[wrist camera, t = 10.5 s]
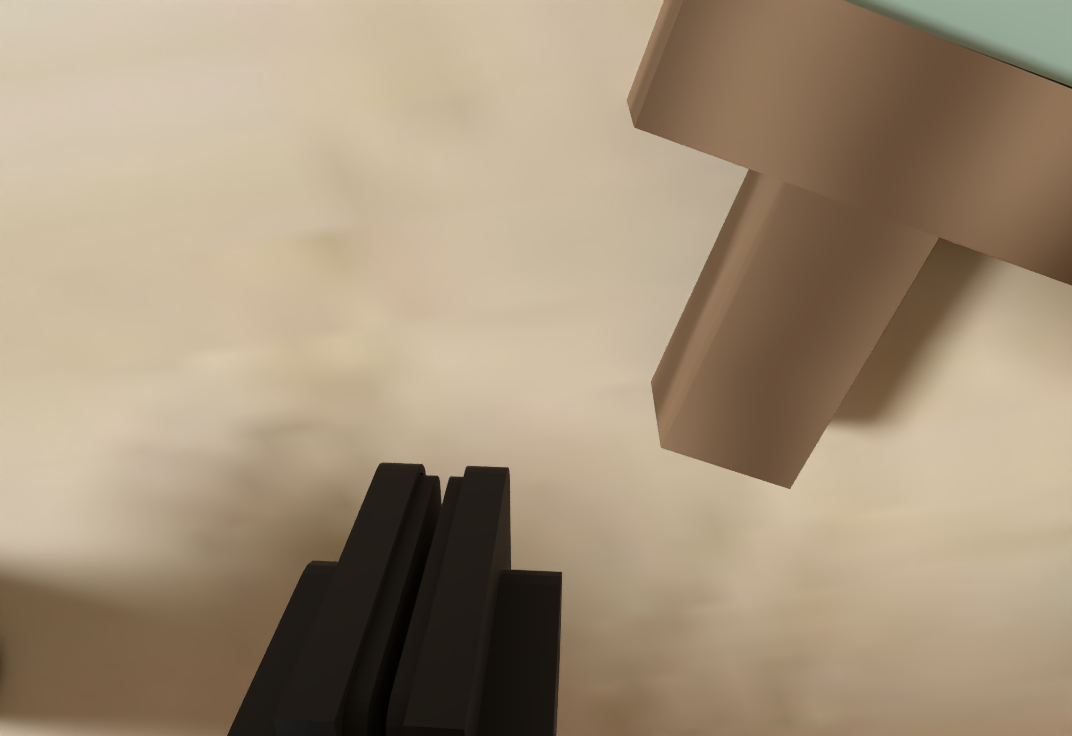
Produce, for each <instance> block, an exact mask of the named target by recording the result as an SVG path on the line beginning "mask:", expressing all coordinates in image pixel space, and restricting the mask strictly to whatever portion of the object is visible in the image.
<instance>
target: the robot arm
mask: <svg viewBox="0 0 1072 736" xmlns="http://www.w3.org/2000/svg"><path fill="white" fill-rule="evenodd" d="M561 597H562V572H549V571H527V570H511V536H510V474H509V468H506V467H481V466H467V467H466V470H465V473H464V477H453V476H451V477H450V478H449V481H448V484H447V488H446V492H445V496H444V499H443V503H442V507H441V490H440V480H439V477H438V476H428V475H426V473H425V468H424V466H423V465H422V464H404V463H380V464H379V466H378V468H377V470H376V472H375V475H374V477H373V480H372V482H371V484H370V487H369V489H368V492H367V494H366V496H365V499H364V501H363V504H362V506H361V509H360V511H359V513H358V516H357V518H356V521H355V523H354V525H353V528H352V530H351V533H350V535H349V538H348V540H347V542H346V545H345V547H344V550H343V552H342V554H341V557H340V559H339V562H329V561H312V562H310V563H309V564H308V565H307V566H306V568H305V570H304V571H303V573H302V575H301V577H300V579H299V582H298V584H297V586H296V588H295V590H294V592H293V595H292V597H291V599H290V601H289V603H288V605H287V607H286V610H285V612H284V614H283V616H282V618H281V620H280V623H279V625H278V627H277V629H276V631H275V633H274V636H273V638H272V640H271V642H270V644H269V646H268V648H267V651H266V653H265V655H264V657H263V659H262V661H261V664H260V666H259V668H258V670H257V672H256V674H255V676H254V679H253V681H252V683H251V685H250V687H249V689H248V692H247V694H246V696H245V698H244V700H243V702H242V705H241V707H240V709H239V711H238V713H237V715H236V717H235V720H234V722H233V724H232V726H231V728H230V730H229V733H228V735H227V736H556V728H557V707H558V685H559V662H560V633H561Z"/></svg>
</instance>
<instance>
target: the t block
mask: <svg viewBox="0 0 1072 736" xmlns="http://www.w3.org/2000/svg"><path fill="white" fill-rule="evenodd" d="M627 103H628V106H629V110H630V114H631V117H632V121H633V125H634V127H635V128H637V129H640V130H643V131H646V132H649V133H651V134H654V135H657V136H660V137H662V138H665V139H668V140H671V141H673V142H676V143H679V144H682V145H685V146H687V147H690V148H693V149H696V150H698V151H701V152H704V153H707V154H709V155H712V156H715V157H718V158H721V159H723V160H726V161H729V162H732V163H734V164H737V165H740V166H743V167H745V168H748V169H749V170H748V172H747V175H746V177H745V179H744V181H743V183H742V185H741V188H740V190H739V192H738V194H737V196H736V198H735V201H734V203H733V205H732V207H731V209H730V211H729V214H728V216H727V218H726V220H725V222H724V224H723V227H722V229H721V231H720V233H719V235H718V237H717V240H716V242H715V244H714V246H713V248H712V250H711V253H710V255H709V257H708V259H707V261H706V264H705V266H704V268H703V270H702V272H701V274H700V277H699V279H698V281H697V283H696V285H695V287H694V290H693V292H692V294H691V296H690V298H689V300H688V303H687V305H686V307H685V309H684V311H683V313H682V316H681V318H680V320H679V322H678V324H677V326H676V329H675V331H674V333H673V335H672V337H671V339H670V342H669V344H668V346H667V348H666V350H665V352H664V355H663V357H662V359H661V361H660V363H659V365H658V368H657V370H656V372H655V374H654V376H653V378H652V381H651V385H652V392H653V398H654V405H655V412H656V418H657V425H658V432H659V438H660V445H661V448H664V449H667V450H670V451H673V452H676V453H679V454H682V455H685V456H689V457H692V458H695V459H698V460H701V461H704V462H707V463H710V464H714V465H717V466H720V467H723V468H726V469H729V470H732V471H735V472H738V473H742V474H745V475H748V476H751V477H754V478H757V479H760V480H763V481H766V482H770V483H773V484H776V485H779V486H782V487H785V488H788V489H790V488H791V486H792V485H793V483H794V481H795V480H796V478H797V476H798V475H799V473H800V471H801V469H802V468H803V466H804V464H805V463H806V461H807V459H808V458H809V456H810V454H811V453H812V451H813V449H814V448H815V446H816V444H817V443H818V441H819V439H820V437H821V436H822V434H823V432H824V431H825V429H826V427H827V426H828V424H829V422H830V421H831V419H832V417H833V416H834V414H835V412H836V411H837V409H838V407H839V405H840V404H841V402H842V400H843V399H844V397H845V395H846V394H847V392H848V390H849V389H850V387H851V385H852V384H853V382H854V380H855V378H856V377H857V375H858V373H859V372H860V370H861V368H862V367H863V365H864V363H865V362H866V360H867V358H868V357H869V355H870V353H871V352H872V350H873V348H874V346H875V345H876V343H877V341H878V340H879V338H880V336H881V335H882V333H883V331H884V330H885V328H886V326H887V325H888V323H889V321H890V320H891V318H892V316H893V314H894V313H895V311H896V309H897V308H898V306H899V304H900V303H901V301H902V299H903V298H904V296H905V294H906V293H907V291H908V289H909V287H910V286H911V284H912V282H913V281H914V279H915V277H916V276H917V274H918V272H919V271H920V269H921V267H922V266H923V264H924V262H925V261H926V259H927V257H928V255H929V254H930V252H931V250H932V249H933V247H934V245H935V244H936V242H937V240H938V239H939V238H942V239H945V240H948V241H950V242H953V243H956V244H959V245H961V246H964V247H967V248H970V249H973V250H975V251H978V252H981V253H984V254H986V255H989V256H992V257H995V258H997V259H1000V260H1003V261H1006V262H1009V263H1011V264H1014V265H1017V266H1020V267H1022V268H1025V269H1028V270H1031V271H1033V272H1036V273H1039V274H1042V275H1045V276H1047V277H1050V278H1053V279H1056V280H1058V281H1061V282H1064V283H1067V284H1069V285H1072V89H1071V88H1068V87H1066V86H1063V85H1060V84H1058V83H1055V82H1053V81H1050V80H1048V79H1045V78H1042V77H1040V76H1037V75H1035V74H1032V73H1030V72H1027V71H1024V70H1022V69H1019V68H1017V67H1014V66H1011V65H1009V64H1006V63H1004V62H1001V61H999V60H996V59H993V58H991V57H988V56H986V55H983V54H981V53H978V52H975V51H973V50H970V49H968V48H965V47H963V46H960V45H957V44H955V43H952V42H950V41H947V40H944V39H942V38H939V37H937V36H934V35H932V34H929V33H926V32H924V31H921V30H919V29H916V28H914V27H911V26H908V25H906V24H903V23H901V22H898V21H895V20H893V19H890V18H888V17H885V16H883V15H880V14H877V13H875V12H872V11H870V10H867V9H865V8H862V7H859V6H857V5H854V4H852V3H849V2H847V1H844V0H664V2H663V5H662V8H661V10H660V13H659V16H658V18H657V21H656V24H655V26H654V29H653V32H652V34H651V37H650V40H649V42H648V45H647V48H646V50H645V53H644V56H643V58H642V61H641V64H640V66H639V69H638V72H637V74H636V77H635V80H634V82H633V85H632V88H631V90H630V93H629V96H628V98H627Z"/></svg>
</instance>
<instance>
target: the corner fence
mask: <svg viewBox="0 0 1072 736" xmlns="http://www.w3.org/2000/svg"><path fill="white" fill-rule="evenodd" d="M844 1H847V2H849V3H852V4H854V5H857V6H859V7H862V8H865V9H867V10H870V11H872V12H875V13H877V14H880V15H883V16H885V17H888V18H890V19H893V20H895V21H898V22H901V23H903V24H906V25H908V26H911V27H914V28H916V29H919V30H921V31H924V32H926V33H929V34H932V35H934V36H937V37H939V38H942V39H944V40H947V41H950V42H952V43H955V44H957V45H960V46H963V47H965V48H968V49H970V50H973V51H975V52H978V53H981V54H983V55H986V56H988V57H991V58H993V59H996V60H999V61H1001V62H1004V63H1006V64H1009V65H1011V66H1014V67H1017V68H1019V69H1022V70H1024V71H1027V72H1030V73H1032V74H1035V75H1037V76H1040V77H1042V78H1045V79H1048V80H1050V81H1053V82H1055V83H1058V84H1060V85H1063V86H1066V87H1068V88H1071V89H1072V0H844Z"/></svg>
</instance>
